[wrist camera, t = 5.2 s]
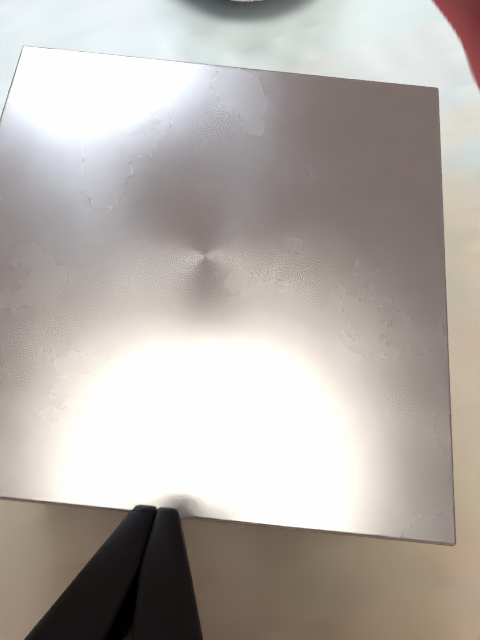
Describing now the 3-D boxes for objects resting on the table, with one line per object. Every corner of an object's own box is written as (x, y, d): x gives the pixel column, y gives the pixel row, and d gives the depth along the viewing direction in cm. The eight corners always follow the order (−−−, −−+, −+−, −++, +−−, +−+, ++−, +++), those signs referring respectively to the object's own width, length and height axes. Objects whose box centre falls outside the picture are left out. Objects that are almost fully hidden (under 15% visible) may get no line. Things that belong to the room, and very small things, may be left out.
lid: (32, 64, 16) (22, 44, 15) (429, 105, 16) (439, 87, 15) (-93, 486, 12) (-116, 487, 11) (442, 541, 12) (457, 546, 11)
